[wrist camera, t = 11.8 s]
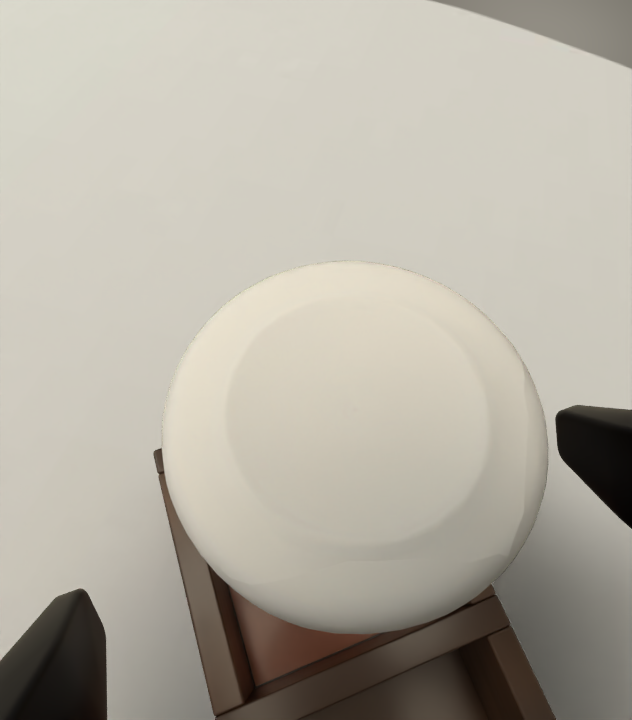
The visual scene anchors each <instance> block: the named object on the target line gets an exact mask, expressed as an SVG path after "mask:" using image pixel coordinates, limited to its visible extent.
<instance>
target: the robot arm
mask: <svg viewBox="0 0 632 720" xmlns="http://www.w3.org/2000/svg"><path fill="white" fill-rule="evenodd" d="M555 421H556V433H557V446H558V451H559V454H560V456H561V458H562V459H563V461H564V462H565V463H566V464H567V465H568V466H569V467H570V468H571V469H572V470H573V471H574V472H575V473H576V474H577V475H578V476H579V477H580V478H581V479H582V480H583V481H584V483H585V484H586V485H587V486H588V487H589V488H590V489H591V490H592V491H593V492H594V493H595V494H596V495H597V496H598V497H599V498H600V499H601V500H602V501H603V502H604V503H605V504H606V505H607V506H608V507H609V508H610V509H611V510H612V511H613V512H614V513H615V514H616V515H617V516H618V517H619V518H620V519H621V520H622V521H624V522H625V523H626V524H627V525H628V526H629V527H630V528H631V529H632V410H626V409H615V408H604V407H593V406H583V405H575V406H572V407H569V408H566V409H564V410H561V411H559V412H558V413H557V415H556V419H555ZM0 720H107V673H106V635H105V630H104V627H103V624H102V622H101V620H100V618H99V616H98V614H97V612H96V610H95V608H94V606H93V603H92V601H91V599H90V597H89V595H88V594H87V592H86V591H85V590H83V589H77V590H74V591H71V592H68V593H66V594H63V595H60V596H58V597H56V598H55V599H54V600H53V601H52V602H51V604H50V605H49V606H48V607H47V608H46V609H45V610H44V612H43V613H42V614H41V615H40V616H39V617H38V618H37V620H36V621H35V622H34V623H33V624H32V625H31V626H30V628H29V629H28V630H27V631H26V632H25V633H24V634H23V636H22V637H21V638H20V639H19V640H18V641H17V642H16V644H15V645H14V646H13V647H12V648H11V649H10V650H9V652H8V653H7V654H6V655H5V656H4V657H3V658H2V660H1V661H0Z"/></svg>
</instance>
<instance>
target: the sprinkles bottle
mask: <svg viewBox="0 0 632 720" xmlns="http://www.w3.org/2000/svg"><path fill="white" fill-rule="evenodd" d="M162 455H163V464H164V472H165V478H166V483H167V487H168V491H169V494H170V498H171V500H172V503H173V505H174V508H175V510H176V513H177V515H178V517H179V519H180V521H181V523H182V525H183V527H184V529H185V531H186V533H187V535H188V536H189V538H190V539H191V541H192V542H193V544H194V545H195V547H196V548H197V550H198V552H199V553H200V555H201V556H202V557H203V558H204V559H205V561H206V562H207V563H208V564H209V565H210V566H211V568H212V569H213V570H214V571H215V572H216V574H217V575H218V576H219V577H221V578H222V579H223V580H224V581H225V582H226V583H227V584H228V585H230V586H231V587H232V588H233V589H234V590H235V591H236V592H238V593H239V594H240V595H242V596H243V597H244V598H246V599H247V600H248V601H250V602H251V603H252V604H254V605H256V606H257V607H259V608H260V609H262V610H264V611H265V612H267V613H269V614H271V615H273V616H275V617H278V618H280V619H282V620H284V621H287V622H289V623H292V624H295V625H298V626H301V627H304V628H308V629H312V630H318V631H324V632H330V633H338V634H373V633H382V632H390V631H397V630H403V629H406V628H410V627H413V626H417V625H420V624H423V623H427V622H430V621H432V620H435V619H437V618H440V617H442V616H445V615H447V614H449V613H451V612H452V611H454V610H456V609H458V608H459V607H461V606H463V605H465V604H466V603H468V602H469V601H471V600H472V599H474V598H475V597H477V596H478V595H479V594H480V593H481V592H483V591H484V590H485V589H486V588H487V587H488V586H489V585H490V584H491V583H493V582H494V581H495V580H496V579H497V578H498V577H499V576H500V575H501V574H502V573H503V572H504V571H505V570H506V569H507V568H508V566H509V565H510V564H511V563H512V561H513V560H514V559H515V557H516V556H517V554H518V552H519V551H520V549H521V548H522V546H523V545H524V543H525V541H526V539H527V537H528V535H529V533H530V531H531V529H532V528H533V525H534V523H535V520H536V518H537V514H538V511H539V508H540V505H541V502H542V499H543V495H544V491H545V486H546V480H547V471H548V439H547V430H546V421H545V416H544V412H543V409H542V405H541V402H540V399H539V396H538V393H537V390H536V387H535V385H534V382H533V380H532V378H531V376H530V374H529V372H528V369H527V367H526V366H525V364H524V362H523V361H522V359H521V357H520V356H519V354H518V352H517V351H516V349H515V348H514V346H513V345H512V343H511V342H510V341H509V340H508V339H507V337H506V336H505V335H504V334H503V333H502V332H501V331H500V329H499V328H498V327H497V326H496V325H495V324H494V323H493V322H492V321H491V320H490V319H489V318H488V317H487V316H486V315H485V314H484V313H483V312H482V311H481V310H480V309H478V308H477V307H476V306H475V305H473V304H472V303H471V302H469V301H468V300H467V299H465V298H464V297H462V296H461V295H459V294H458V293H456V292H454V291H453V290H451V289H449V288H448V287H446V286H444V285H442V284H440V283H438V282H436V281H434V280H432V279H430V278H428V277H425V276H422V275H420V274H417V273H415V272H412V271H409V270H405V269H401V268H398V267H394V266H389V265H384V264H379V263H372V262H365V261H333V262H325V263H317V264H311V265H305V266H301V267H297V268H293V269H290V270H287V271H284V272H281V273H279V274H276V275H274V276H271V277H268V278H266V279H264V280H262V281H260V282H258V283H257V284H255V285H253V286H251V287H249V288H248V289H246V290H244V291H242V292H241V293H239V294H238V295H237V296H235V297H234V298H233V299H231V300H230V301H229V302H228V303H226V304H225V305H224V306H223V307H221V308H220V309H219V310H218V311H217V312H216V313H215V314H214V315H213V316H212V318H211V319H210V320H209V321H208V322H207V323H206V324H205V325H204V326H203V327H202V328H201V330H200V331H199V332H198V334H197V335H196V337H195V338H194V339H193V341H192V342H191V343H190V345H189V346H188V348H187V349H186V351H185V353H184V355H183V357H182V359H181V361H180V363H179V365H178V367H177V369H176V371H175V374H174V376H173V379H172V381H171V384H170V387H169V391H168V394H167V398H166V402H165V407H164V412H163V419H162Z"/></svg>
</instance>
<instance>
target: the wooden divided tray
mask: <svg viewBox="0 0 632 720" xmlns="http://www.w3.org/2000/svg"><path fill="white" fill-rule="evenodd" d="M153 455H154V459H155V463H156V467H157V472H158V473H159V481H160V485H161V490H162V494H163V498H164V503H165V507H166V511H167V516H168V520H169V524H170V529H171V533H172V537H173V541H174V546H175V550H176V554H177V559H178V563H179V567H180V572H181V576H182V580H183V584H184V589H185V593H186V597H187V602H188V606H189V610H190V615H191V619H192V623H193V628H194V632H195V636H196V640H197V645H198V649H199V653H200V658H201V662H202V666H203V671H204V675H205V679H206V683H207V688H208V692H209V696H210V701H211V705H212V709H213V714H214V715H215V716H216V717H215V720H556V718H555V716H554V714H553V712H552V710H551V708H550V706H549V703H548V701H547V699H546V697H545V695H544V693H543V691H542V689H541V687H540V685H539V683H538V681H537V678H536V676H535V674H534V672H533V670H532V668H531V666H530V664H529V662H528V660H527V658H526V655H525V653H524V651H523V649H522V647H521V645H520V643H519V641H518V639H517V637H516V635H515V633H514V630H513V628H512V627H511V626H509V625H510V622H509V619H508V617H507V615H506V613H505V611H504V609H503V607H502V605H501V603H500V601H499V599H498V597H497V596H496V595H495V591H494V589H493V587H492V584H490V585H489V586H488V587H487V588H486V589H485V590H484V591H483V592H481V593H480V594H479V595H478V596H477V597H475V598H474V599H472V600H471V601H469V602H468V603H466V604H465V605H463V606H461V607H459V608H458V609H456V610H454V611H452V612H451V613H449V614H447V615H445V616H442V617H440V618H437V619H435V620H432V621H430V622H427V623H423V624H420V625H417V626H413V627H410V628H406V629H403V630H397V631H390V632H382V633H373V634H338V633H330V632H324V631H318V630H312V629H308V628H304V627H301V626H298V625H295V624H292V623H289V622H287V621H284V620H282V619H280V618H278V617H275V616H273V615H271V614H269V613H267V612H265V611H264V610H262V609H260V608H259V607H257V606H256V605H254V604H252V603H251V602H250V601H248V600H247V599H246V598H244V597H243V596H242V595H240V594H239V593H238V592H236V591H235V590H234V589H233V588H232V587H231V586H230V585H228V584H227V583H226V582H225V581H224V580H223V579H222V578H221V577H219V576H218V575H217V574H216V572H215V571H214V570H213V569H212V568H211V566H210V565H209V564H208V563H207V562H206V561H205V559H204V558H203V557H202V556H201V555H200V553H199V552H198V550H197V548H196V547H195V545H194V544H193V542H192V541H191V539H190V538H189V536H188V535H187V533H186V531H185V529H184V527H183V525H182V523H181V521H180V519H179V517H178V515H177V513H176V510H175V508H174V505H173V503H172V500H171V498H170V494H169V491H168V487H167V483H166V478H165V472H164V464H163V455H162V448H161V449H158V450H155V451H154V454H153Z"/></svg>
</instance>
